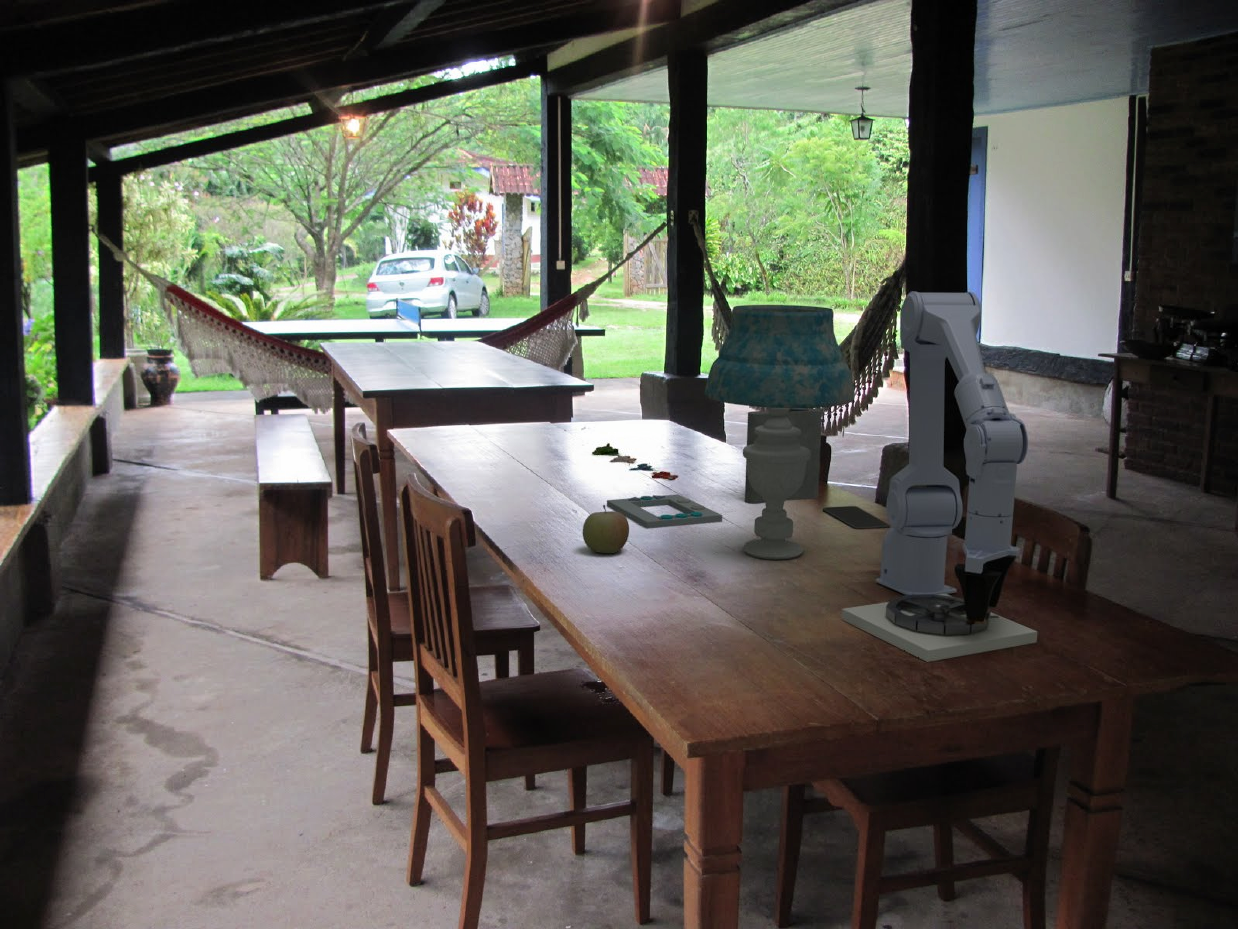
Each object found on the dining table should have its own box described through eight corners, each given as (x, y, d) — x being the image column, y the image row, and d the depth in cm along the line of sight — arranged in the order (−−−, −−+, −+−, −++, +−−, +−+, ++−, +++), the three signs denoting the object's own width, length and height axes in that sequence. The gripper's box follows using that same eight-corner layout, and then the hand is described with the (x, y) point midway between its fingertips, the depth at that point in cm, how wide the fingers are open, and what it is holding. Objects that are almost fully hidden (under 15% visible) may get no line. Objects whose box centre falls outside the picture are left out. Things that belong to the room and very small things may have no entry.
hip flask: (749, 504, 236) (753, 401, 233) (739, 499, 240) (743, 398, 236) (821, 498, 242) (825, 397, 239) (810, 494, 246) (814, 395, 242)
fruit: (603, 560, 196) (604, 511, 195) (574, 551, 202) (574, 503, 200) (638, 552, 201) (639, 505, 200) (609, 543, 207) (610, 497, 205)
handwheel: (866, 614, 166) (868, 580, 165) (929, 597, 174) (931, 564, 173) (950, 642, 155) (953, 606, 154) (1013, 622, 163) (1016, 588, 162)
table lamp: (753, 580, 186) (763, 315, 179) (673, 543, 207) (679, 304, 199) (876, 562, 198) (891, 311, 190) (788, 528, 218) (798, 301, 210)
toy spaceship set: (585, 454, 286) (585, 442, 285) (609, 453, 289) (609, 440, 288) (657, 484, 255) (658, 470, 255) (684, 482, 258) (684, 467, 258)
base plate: (841, 619, 169) (842, 608, 169) (944, 603, 177) (945, 592, 176) (927, 662, 153) (928, 649, 153) (1036, 642, 161) (1037, 631, 160)
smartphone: (855, 527, 218) (820, 507, 232) (854, 532, 218) (820, 512, 233) (892, 525, 220) (856, 505, 234) (892, 530, 220) (856, 510, 234)
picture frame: (606, 497, 233) (678, 492, 239) (606, 509, 233) (677, 503, 239) (647, 519, 216) (722, 512, 222) (646, 532, 217) (722, 525, 223)
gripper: (1009, 527, 150) (1000, 633, 153) (1033, 505, 163) (1024, 603, 166) (951, 520, 154) (944, 624, 157) (979, 498, 166) (971, 595, 169)
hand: (982, 612), depth 161 cm, fingers open, 6 cm apart
